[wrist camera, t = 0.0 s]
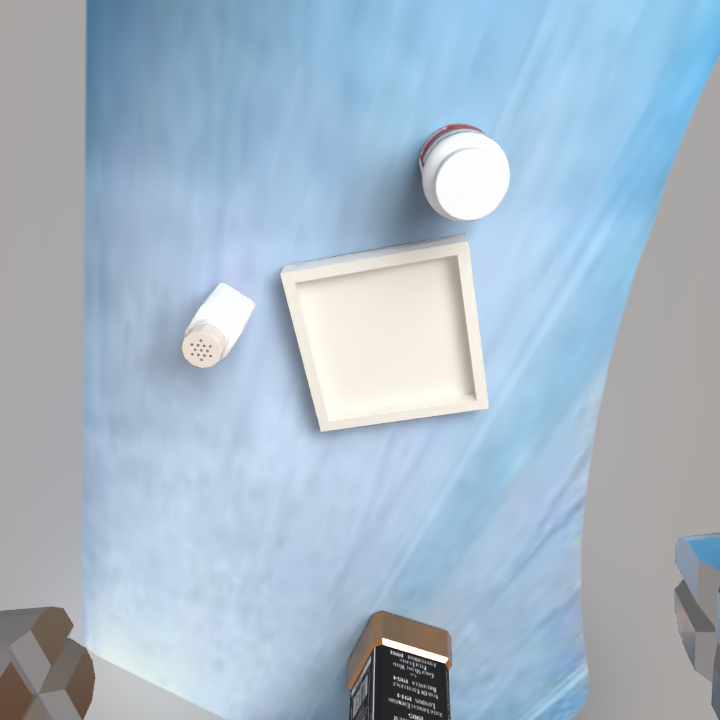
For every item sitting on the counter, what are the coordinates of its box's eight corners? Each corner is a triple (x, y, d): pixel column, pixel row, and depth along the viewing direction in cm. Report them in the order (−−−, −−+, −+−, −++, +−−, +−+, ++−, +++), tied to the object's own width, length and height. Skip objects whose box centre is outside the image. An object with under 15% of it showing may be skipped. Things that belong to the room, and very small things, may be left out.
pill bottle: (488, 202, 53) (509, 236, 43) (414, 197, 53) (418, 230, 43) (499, 124, 51) (525, 140, 41) (422, 119, 51) (428, 134, 41)
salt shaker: (259, 302, 58) (235, 345, 50) (237, 334, 60) (211, 381, 51) (221, 278, 57) (190, 317, 49) (200, 311, 59) (167, 355, 50)
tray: (284, 265, 56) (280, 273, 54) (465, 233, 54) (468, 241, 52) (323, 418, 63) (320, 431, 61) (485, 395, 61) (489, 408, 59)
